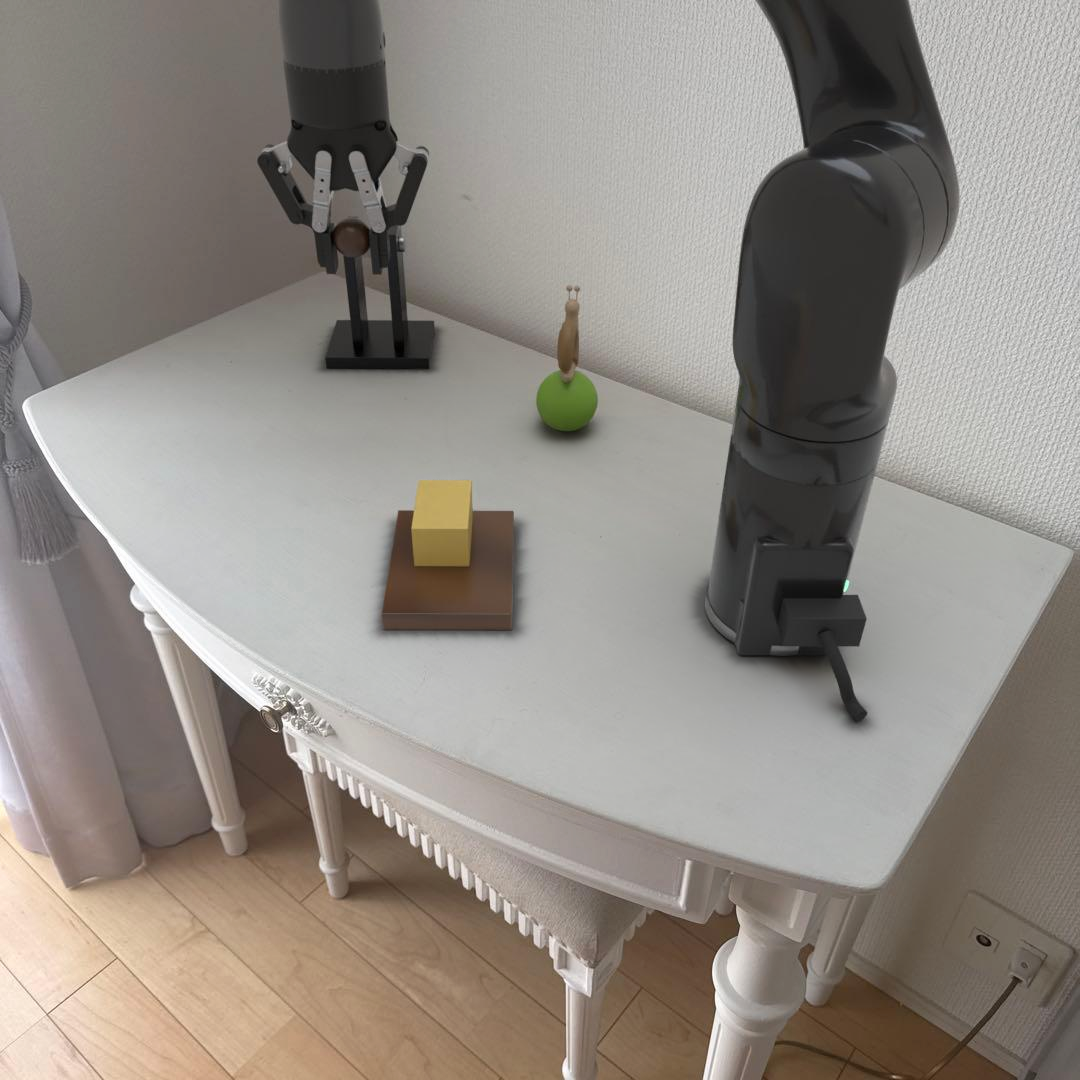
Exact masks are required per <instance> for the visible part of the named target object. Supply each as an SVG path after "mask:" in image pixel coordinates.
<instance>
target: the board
mask: <svg viewBox="0 0 1080 1080" xmlns="http://www.w3.org/2000/svg"><path fill="white" fill-rule="evenodd" d="M413 514H414V509H413V510H412V509H410V510H409V509H408V510H407V509H406V510H404V509H399V510H397V515H396V521H395V528H394V533H393V540H392V545H391V546H392V547H391V552H390V559H389V563H388V571H387V577H386V584H385V589H384V595H383V602H382V608H381V614H380V615H381V622H382V623H381V625H382V630H417V631H419V630H423V631H424V630H427V631H428V630H434V631H435V630H437V631H438V630H444V631H445V630H446V631H447V630H448V631H449V630H450V631H451V630H453V631H454V630H455V631H458V630H459V631H460V630H463V631H464V630H465V631H467V630H468V631H469V630H471V631H472V630H473V631H480V630H481V631H483V630H484V631H498V630H499V631H501V630H502V631H512V630H513V601H514V600H513V599H514V598H513V597H514V595H513V593H514V592H513V590H514V588H513V587H514V539H515V537H514V536H515V534H514V530H515V528H514V527H515V511H514V510H473V522H472V536H471V550H470V564H469V566H414V555H413V542H412V530H411V528H412V521H413Z"/></svg>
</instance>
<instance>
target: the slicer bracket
mask: <svg viewBox="0 0 1080 1080" xmlns="http://www.w3.org/2000/svg"><path fill="white" fill-rule="evenodd" d="M349 217H350V216H347V217H346V218H349ZM353 217H354V218H358V219H359V217H358V216H353ZM388 230H389V242H390V255H391V256H390V260H389V263H388V266H387V278H388V289H389V302H390V314H391V319H390V320H389V319H385V320H383V319H369V316H368V307H367V297H366V287H365V276H364V267H363V266H364V265H363V257H360V256H359V257H355V258H352V257H347V256H344V255H343V254H342V255H343V266H344V276H345V284H346V293H347V303H348V312H349V319H337V320H336V321H335V325H334V327H333V331H332V334H331V337H330V340H329V343H328V346H327V350H326V353H325V356H324V361H325V368H326V369H382V370H383V369H392V370H393V369H396V370H397V369H400V370H401V369H402V370H405V369H406V370H415V369H416V370H428V369H430V367H431V366H430V365H431V359H432V351H433V345H434V339H435V333H436V327H435V320H411V319H410V320H409V319H408V308H407V307H408V306H407V293H406V292H407V291H406V278H405V264H404V253H405V252H406V249H407V248H406V246H407V245H406V237H405V236H403V235H402V226H398V225H395V226H392V227H390V228H389V229H388Z"/></svg>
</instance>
